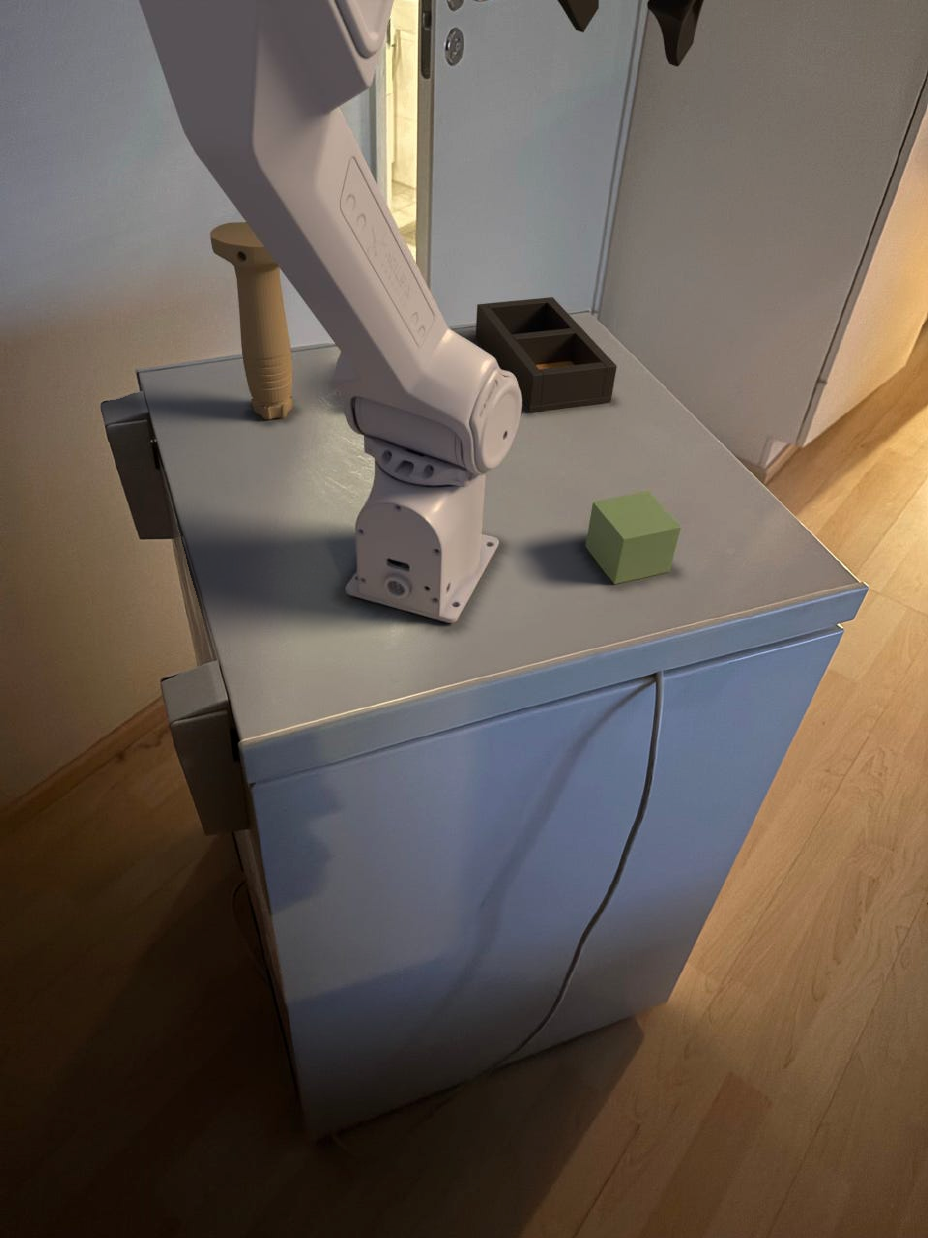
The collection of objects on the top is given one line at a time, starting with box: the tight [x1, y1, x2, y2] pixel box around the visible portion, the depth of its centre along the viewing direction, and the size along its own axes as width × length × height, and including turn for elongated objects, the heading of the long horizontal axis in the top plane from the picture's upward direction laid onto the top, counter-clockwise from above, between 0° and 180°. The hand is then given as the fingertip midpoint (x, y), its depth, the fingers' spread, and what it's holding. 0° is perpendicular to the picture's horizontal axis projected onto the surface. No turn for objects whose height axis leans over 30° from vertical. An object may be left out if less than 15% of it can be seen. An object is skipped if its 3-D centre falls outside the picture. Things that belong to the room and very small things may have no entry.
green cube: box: [585, 491, 682, 585], centre depth 63 cm, size 4×4×4 cm
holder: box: [474, 296, 618, 414], centre depth 84 cm, size 8×15×4 cm, turn 18°
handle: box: [209, 221, 293, 420], centre depth 72 cm, size 5×6×15 cm
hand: (633, 35), depth 61 cm, fingers open, 7 cm apart
